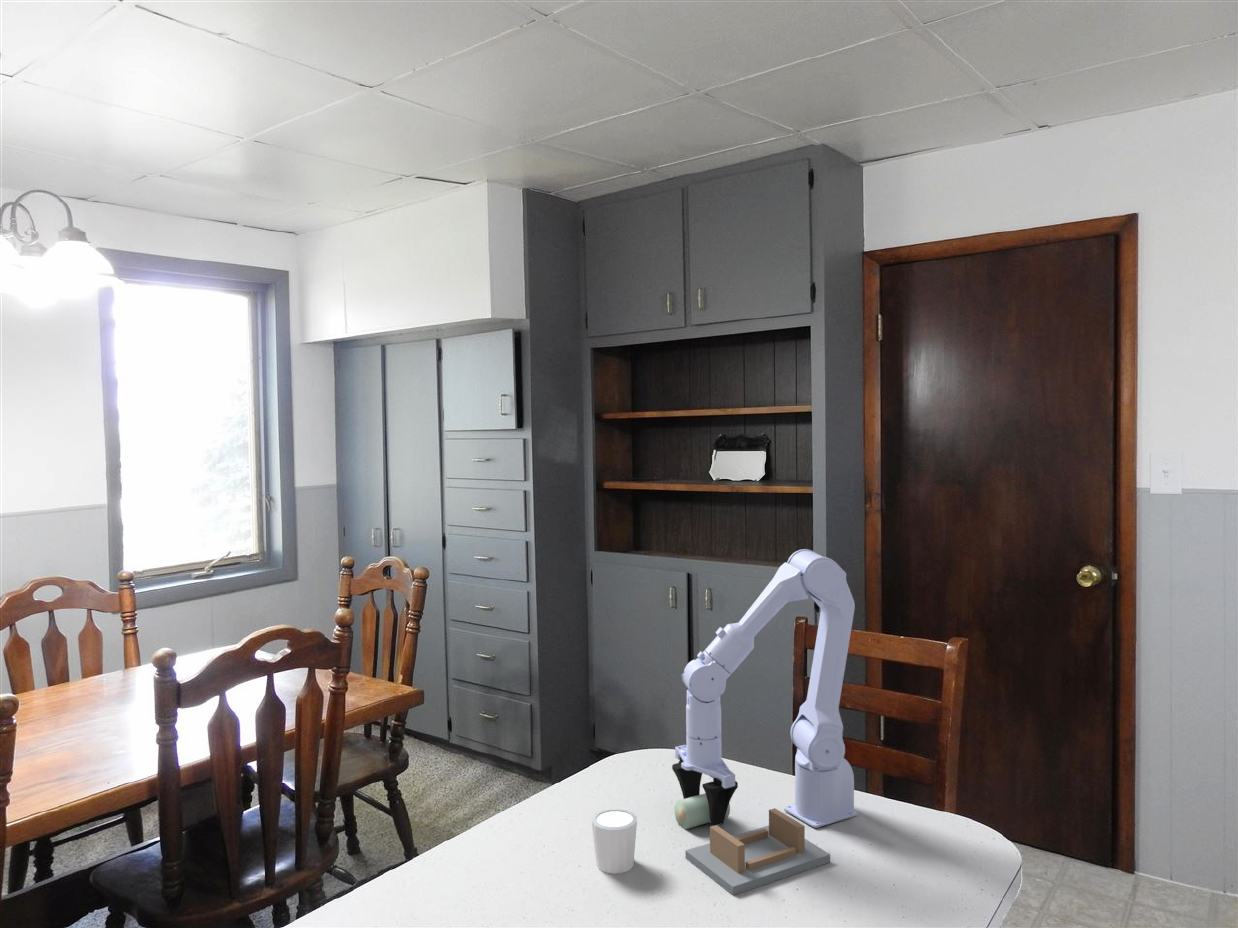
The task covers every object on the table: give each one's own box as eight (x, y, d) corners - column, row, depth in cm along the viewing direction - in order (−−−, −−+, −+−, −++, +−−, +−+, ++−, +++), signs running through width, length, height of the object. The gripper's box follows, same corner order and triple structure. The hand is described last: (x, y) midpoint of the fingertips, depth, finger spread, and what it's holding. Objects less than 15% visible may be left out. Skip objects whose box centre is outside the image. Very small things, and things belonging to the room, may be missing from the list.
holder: (778, 829, 143) (778, 798, 143) (830, 861, 133) (830, 828, 132) (685, 857, 135) (685, 824, 134) (732, 894, 124) (732, 858, 124)
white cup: (633, 877, 129) (632, 830, 129) (587, 873, 130) (586, 826, 130) (641, 854, 136) (641, 809, 135) (597, 850, 137) (597, 806, 137)
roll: (717, 816, 150) (713, 788, 151) (732, 818, 146) (728, 790, 147) (676, 827, 146) (671, 799, 147) (690, 830, 142) (686, 801, 143)
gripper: (659, 724, 149) (660, 803, 150) (709, 753, 137) (709, 838, 137) (694, 717, 153) (695, 794, 154) (745, 744, 140) (746, 827, 141)
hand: (704, 814), depth 146 cm, fingers open, 7 cm apart
